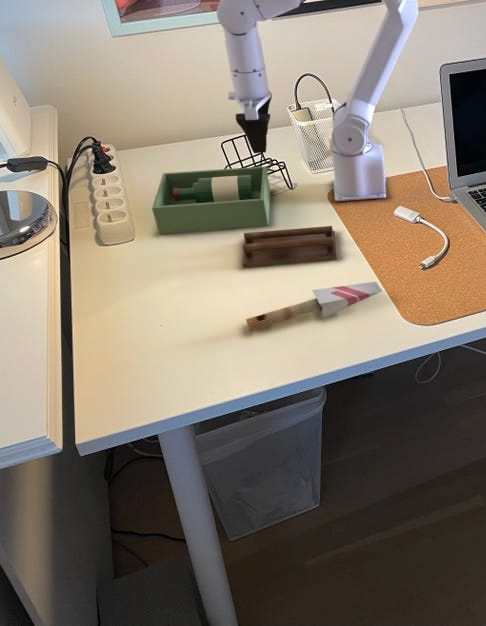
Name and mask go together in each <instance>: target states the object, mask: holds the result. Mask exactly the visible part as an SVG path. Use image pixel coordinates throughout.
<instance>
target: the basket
mask: <svg viewBox="0 0 486 626" xmlns="http://www.w3.org/2000/svg"><path fill="white" fill-rule="evenodd" d="M242 175H252V177H253V181H254V187H255V196H256V199H250V200H237V201H223V202H210V203H196V202H195V200H182V201H180V202H176V201H175V199H174V195H173V189H174V188H180V189H182V188H193V184H194V183H198V180H199V178H213V177H225V176H242ZM269 181H270V180H269V176H268V169H267V166H251V167H237V168H222V169H205V170H190V171H177V172H176V171H175V172H174V171H173V172H163V173H162V175H161V179H160V182H159V185H158V188H157V192H156V194H155V197H154V201H153V204H152V207H151V210H152V213H153V214H152V215H153V217H154V221H155V224H156V227H157V231H158V234H159V235H167V234H180V233H181V234H182V233H192V232H193V233H195V232H205V231H219V230H229V229H241V228H242V229H243V228H255V227H266V226H269V222H270V204H271V203H270V202H271V187H270V182H269Z"/></svg>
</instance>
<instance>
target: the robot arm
mask: <svg viewBox="0 0 486 626" xmlns="http://www.w3.org/2000/svg"><path fill="white" fill-rule="evenodd" d="M301 1H302V0H220V1H219V2H218V4H217V9H216V17H217V20H218V23H219V25H221V27H222V28H223V30H222V31H223V35H224V39H225V40H224V45H225V49H226V50H225V51H226V55H227V60H228V66H229V71H230V76H231V81H232V86H233V91H229V92H228V93H227V99H228V100H229V101H235V102H236V104H238V105H239V106H240V107H241V108H242V110H243V111H244V112H243V113H236V114H235V121H236V123H237V125H238V126H239V127H240V128H241V130H242V131H243V133H244V134H245V136H246V138H247V140H248V143H249V146H250V148H251V151H252V152H253V154H264V153H265V154H266V152H267V135H268V130H269V123H270V120H271V113H269V109H270V108H269V107H270V104H271V101H272V96H273V93H272V92H271V90H270V89H269V82H268V76H267V71H266V63H265V57H264V51H263V45H262V44H263V43H262V38H261V36H260V33H259V27H258V22H266V21H268V20H271V19H272V18H273V19H274V18H275V17H278V16H280V15H283V14H285V13H287V12H290V11H292V10H294V9H297V8H299V7H300V5H301ZM383 1H384V4H385V7H386V9H387V10H386V12H385V14H384V17H383V19H382V21H381V24H380V26H379V28H378V30H377V32H376V35H375V37H374V39H373V41H372V44H371V46H370V48H369V51H368V53H367V55H366V57H365V60H364V62H363V64H362V66H361V69H360V70H359V73H358V75H357V78H356V80H355V82H354V84H353V86H352V89H351V90H350V91H349V92H348V94H347V95H346V97H345V100H343V102H342V104H340V105H339V106H337V107H336V108H335V110H334V112H333V114H332V132H331V146H330V147H331V153H332V154H331V155H332V164H333V173H334V174H333V175H334V180H333V181H332V182H333V183H332V184H333V192H334V193H333V194H334V201H335V202H347V201H349V202H350V201H359V200H360V201H361V200H362V201H363V200H373V199H375V200H376V199H385V198H386V197H387V193H386V191H387V189H386V183H387V175H386V173H385V163H384V153H383V146H382V145H381V144H374V143H372V142H371V140H370V139H369V137H368V135H369V134H368V132H369V128H370V126H371V124H372V120H373V116H374V113H375V109H376V106H377V104H378V101H379V100H380V98H381V96H382V93H383V91H384V89H385V87H386V85H387V82H388V80H389V78H390V76H391V74H392V72H393V70H394V67H395V65H396V63H397V61H398V60H399V57H400V55H401V53H402V50H403V49H404V46H405V44H406V43H407V40H408V37H409V36H410V33H411V31H412V30H413V27H414V24H416V23H415V22H416V20H417V19H418V16H419V7H418V0H383Z"/></svg>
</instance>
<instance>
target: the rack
mask: <svg viewBox="0 0 486 626" xmlns="http://www.w3.org/2000/svg"><path fill="white" fill-rule="evenodd" d="M243 239H244V243H243V244H242V251H243V254H242V268H252V267H253V268H255V267H265V266H276V265H287V264H299V263H311V262H320V261H334V260H337V259H338V251H337V241H336V240H337V237H336V230H333V226H332V225H327V226H325V225H324V226H313V227H300V228H299V227H298V228H288V229H275V230H263V231H252V232H251V231H250V232H243Z"/></svg>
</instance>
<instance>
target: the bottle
mask: <svg viewBox="0 0 486 626" xmlns="http://www.w3.org/2000/svg"><path fill="white" fill-rule="evenodd" d="M173 195H174V199H175V201H176V202H180V201H182V200H195V202H196V203H210V202H223V201H237V200H250V199H256V196H255V187H254V181H253V177H252V175H242V176H225V177H213V178H199V180H198V183H194V184H193V188H182V189H180V188H174V189H173Z"/></svg>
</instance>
